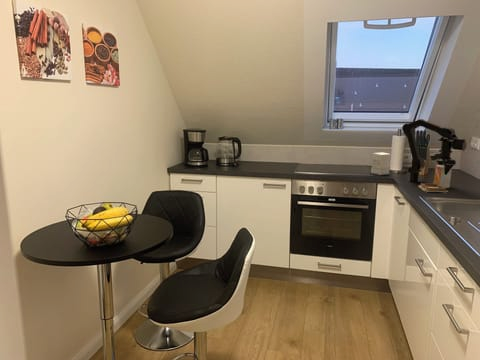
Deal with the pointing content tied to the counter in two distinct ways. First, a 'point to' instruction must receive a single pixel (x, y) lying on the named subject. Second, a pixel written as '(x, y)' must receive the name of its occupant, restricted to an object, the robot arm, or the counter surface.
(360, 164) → the counter surface
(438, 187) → the wooden tray
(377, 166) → the supplement box
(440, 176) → the small box
